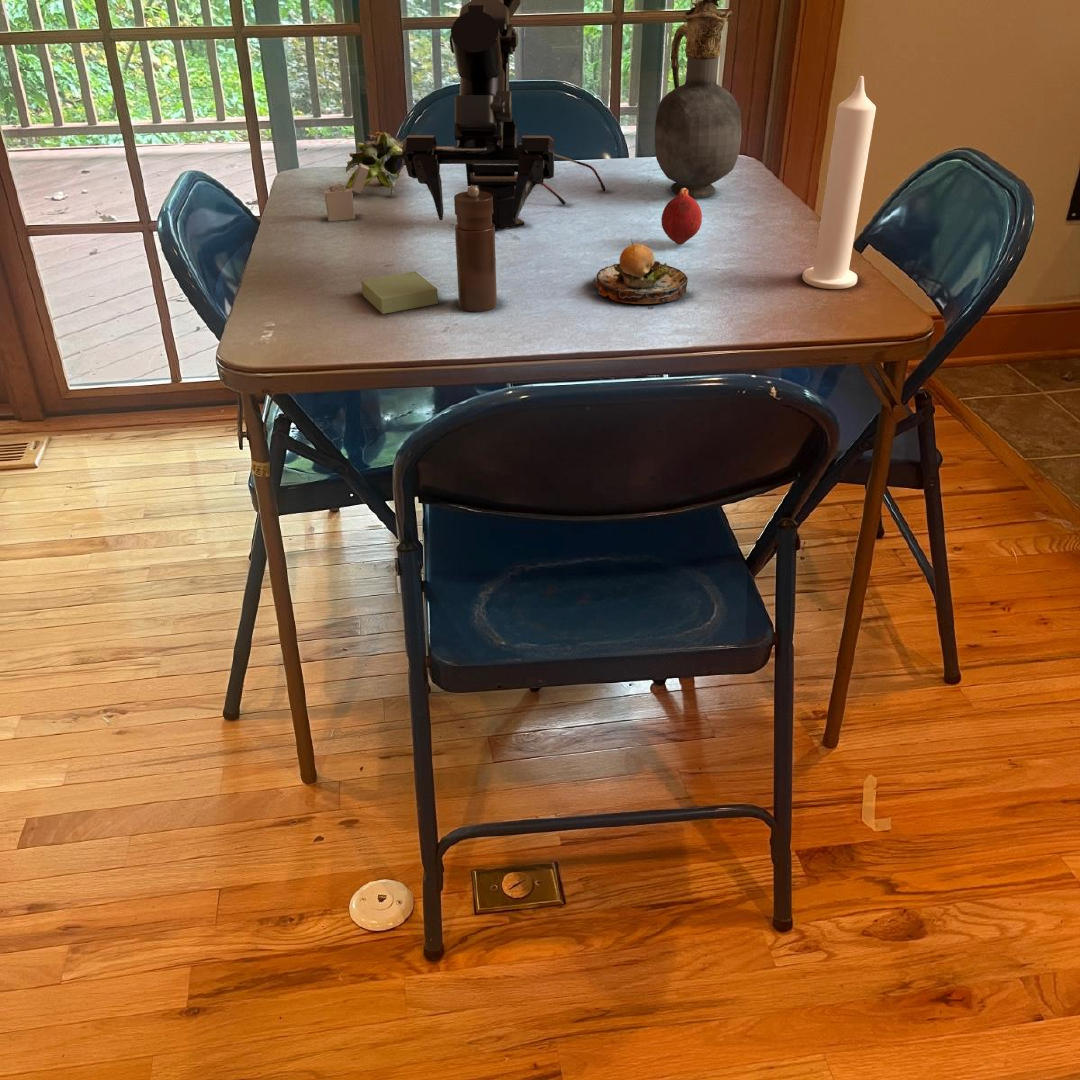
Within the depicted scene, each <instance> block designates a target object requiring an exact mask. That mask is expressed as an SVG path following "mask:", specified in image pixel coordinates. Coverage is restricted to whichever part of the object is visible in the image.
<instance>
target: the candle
mask: <svg viewBox="0 0 1080 1080" xmlns="http://www.w3.org/2000/svg"><path fill="white" fill-rule="evenodd" d="M876 112H877V106H876V104H874V103H873V102H872V101H871V99H870V98H869V97H867V94H866V90H865V76H863V75H859V77H858V79H857V82H856V84H855V87H854V90H853V91H852V93H851V94H850V95H849V96H848V97H846V99H844V100H843V101H841V102H840V103H838V104H837V108H836V115H835V121H834V129H833V134H832V136H833V137H832V142H831V148H830V156H829V161H828V168H827V176H826V182H825V188H824V194H823V195H824V196H823V202H822V210H821V215H820V223H819V227H818V228H819V229H818V237H817V242H816V243H817V244H816V250H815V256H814V263H813V266H812V267H808V268H806V269H804V270H803V272H802V277H801V278H802V281H804V283H806V284H808V285H809V286H811V287H815V288H820V289H826V290H843V289H848V288H849V289H850V288H852V287H854V286H855V285H856V284H857V283H858V275H857V273H855V272H854V271H852V270H850V264H851V260H852V252H853V247H854V242H855V236H856V230H857V223H858V217H859V212H860V205H861V201H862V194H863V189H864V182H865V177H866V171H867V164H868V159H869V153H870V147H871V141H872V135H873V130H874V124H875V116H876Z"/></svg>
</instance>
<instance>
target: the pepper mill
mask: <svg viewBox="0 0 1080 1080" xmlns="http://www.w3.org/2000/svg"><path fill="white" fill-rule="evenodd" d="M453 204H454V214H455V216H456V224H455V225H454V236H455V237H454V238H455V257H456V259H455V260H456V274H457V276H456V277H457V278H456V279H457V296H458V307H459V308H460V309H461V310H463V311H467V312H472V313H481V312H488V311H491V310H493V309H495V308H497V305H498V296H497V292H498V291H497V264H496V263H497V262H496V260H497V259H496V230H495V226H494V224H493V223H492V214H493V196H492V194H490V193H488V192H483V191H479V189H478V186H468V188H467V191H461V192H459V193H457V194H455V195H454V196H453Z"/></svg>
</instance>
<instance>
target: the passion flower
mask: <svg viewBox="0 0 1080 1080" xmlns="http://www.w3.org/2000/svg"><path fill="white" fill-rule="evenodd" d="M366 138H367V139H368V140H364V141H363V142H364V143H362V142H358V143H357V148H358V149H359V151H356V152H353V153H352V152H350V153H348V155H349V157H350V158H351V160H348V161H346V164H347V165H346V167H345V173H348V172H349V171H350V170H351V169H354V167H356V166H359V164H360V163H361V164H363V165H366V166H368V167H369V171H368V174H367V177H366V180H365V182H364V185H363V187H365V186H366V185H367V184H368V183H370V182H371V181H373V180H374V179H376V178H377V180H378V182H379V184H380V185H381V186H384V187H386V188H388V189H391V190H390V196H389V197H390V198H392V197H393V193H394V190H395V186H396V183H397V181H398V180H399V178H400V174H401V171H402V169H403V168H404V166H406V165H405V162H404V158H403V155H402V148H403V141H404V140H401V141H400V138H398V137H397V138H396V139H395V137H394V136H391V135H390V133H387V132H385V131H384V132H380V131H376V132H375V135H373V134H366ZM356 172H357V169H355V171H353V173H352V174H351V176H350V177H349V179H348V181H347V183H346V186H345V189H351V186H352V184H353V181H354V178H355V175H356Z"/></svg>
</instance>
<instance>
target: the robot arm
mask: <svg viewBox="0 0 1080 1080" xmlns="http://www.w3.org/2000/svg"><path fill="white" fill-rule="evenodd" d="M521 2H522V0H470V1H469V2H467V3H466V4H463V6H462V7H460V10H459V15H458V17H457V18H456V19H455V21H454V22H453V24H452V25H451V27H450V34H449V46H450V51H451V54H454V55H453V56H454V61H455V67H456V71H457V73H458V76H459V94H458V95H456V96H455V97H454V128H453V130H454V131H453V136H454V139H455V141H457V143H456V144H457V146H438V144H437V139H436V135H434V134H430V135H429V134H424V135H423V134H422V135H421V134H408V135H407V136H406V137H405V138H404V139H403V140H402V141H403V148H402V155H403V158H404V162H405V165H404V166H405V168H406V172H407V176H408V177H409V178H412V179H417V182H418V183H419V184H422V185H426V187H427V189H428V191H429V193H430V195H431V196H432V200H433V202H434V207H435V209H436V214H437V216H438V220H439V221H443V219H444V199H443V185H442V184H443V183H442V179H441V178H442V177H441V173H440V172H441V170H440V169H441V165H465V172H466V184H467V187H470V186H476V187H477V188H478V189H479V191H483V192H488V193H490V194H492V196H493V214H492V223H493V224H494V226H495V231H498V230H503V229H504V230H505V229H510V228H517V227H523V226H525V224H526V223H525V221H524V220H522V219H520V218H518V217H519V216H520V213H521V211H522V209H523V207H524V204H525V203H526V200H527V199H528V197H529V195H530V194H531V193H532V191H534V188H535V187H536V185H541V184H542V183H544V182H545V181H544V180H551V179H553V178H554V176H555V156H554V154H555V142H554V139H553V138H552V137H551V136H550V135H522V136H521V143H519V141H520V138H519V132H518V127H517V125H516V122H515V121H514V119H513V94H512V91H511V90H510V63H511V62H510V61H511V60H510V59H511V58H510V57H511V55H514V54H515V52H516V48H517V47H518V45H519V34H518V32H516V28H514V27H515V26H514V24H513V23H511V20H512V18H513V16H514V15H515V13H516V12H517V10H518V8H519V7H520V5H521V4H522V3H521ZM515 173H516V174H515Z"/></svg>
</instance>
